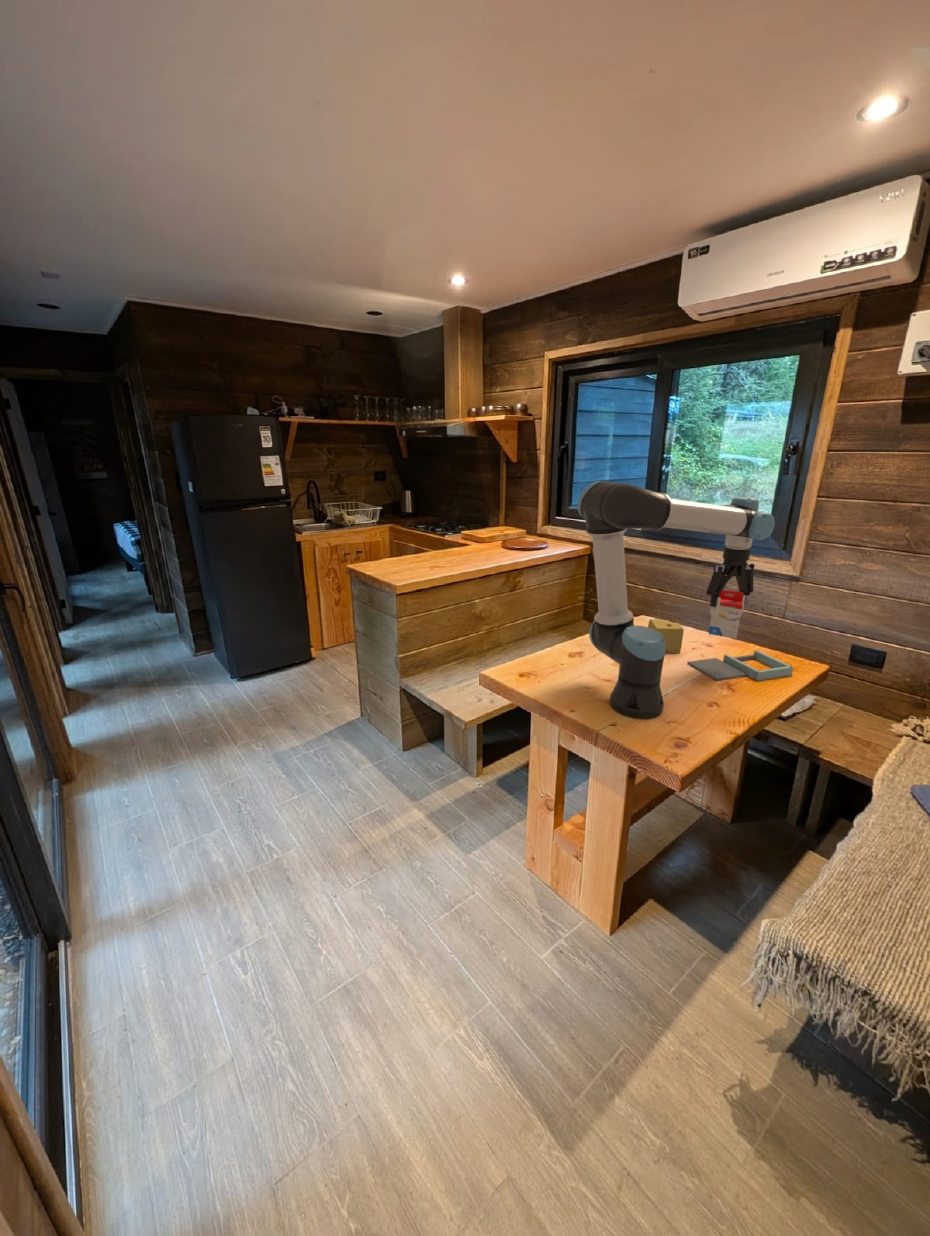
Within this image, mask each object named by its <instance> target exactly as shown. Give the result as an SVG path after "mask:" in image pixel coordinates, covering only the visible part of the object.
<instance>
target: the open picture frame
mask: <svg viewBox="0 0 930 1236" xmlns="http://www.w3.org/2000/svg"><path fill="white" fill-rule="evenodd" d="M750 660H752V661H753V660H756V661H758V662H760V663H761V664H764V665H766V666H768V667H770V668H766V669H765V668H764V669H760V670H759V669H757V668H754V667H753V666H751V665H749V664H747V663H745V661H750ZM722 661H723V662H725V663H727V664H729V665H730V666H732V667H734V668H736V669H738V670H740V671H742V672H744V673H745V674H747V675H746V677H750V678H751V679H753V680H755V681H756V682H759V681H763V680H770V679H776V678H783V677H789V676H792V675H793V672H794V666H792V665H790V664H788V663H786V662H784V661H782V660H780V659H777V658H776V657H773V656H771V655H769V654H767V653H765V652H762V651H760V650H758V649H757V650H754V652H753V653H752V654H745V655H739V656H731V655H729V654H723V658H722Z"/></svg>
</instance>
